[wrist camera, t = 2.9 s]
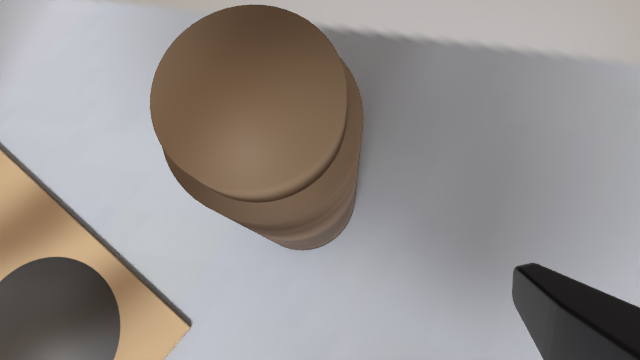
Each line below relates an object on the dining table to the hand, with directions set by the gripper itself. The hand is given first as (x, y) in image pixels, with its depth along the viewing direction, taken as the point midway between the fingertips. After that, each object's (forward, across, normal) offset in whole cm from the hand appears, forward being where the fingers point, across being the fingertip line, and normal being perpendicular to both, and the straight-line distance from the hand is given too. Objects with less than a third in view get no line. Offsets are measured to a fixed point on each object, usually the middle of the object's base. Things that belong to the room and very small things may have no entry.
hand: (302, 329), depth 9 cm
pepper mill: (+12, 0, -5) cm, 13 cm away
